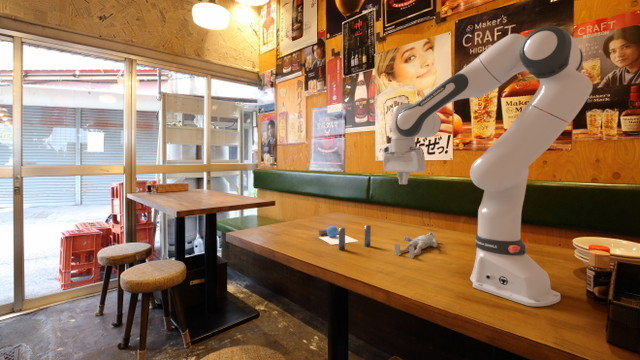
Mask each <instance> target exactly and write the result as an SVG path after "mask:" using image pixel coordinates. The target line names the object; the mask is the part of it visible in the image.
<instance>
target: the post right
mask: <svg viewBox="0 0 640 360" xmlns="http://www.w3.org/2000/svg"><path fill="white" fill-rule="evenodd" d="M371 232H372V227H371V225H370V224H365V225H364V246H363V247H365V248H370V247H371V246H372V244H371V240H372V239H371V237H372V236H371V234H372V233H371Z"/></svg>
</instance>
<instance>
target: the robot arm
mask: <svg viewBox="0 0 640 360" xmlns="http://www.w3.org/2000/svg"><path fill="white" fill-rule="evenodd" d="M583 59H584V58H583V51H582V49H580V47H579V44H578V42H577V40H576V39H575V37H573V36H572V35H571V34H570V33H569V32H568V31H567V30H566V29H565V28H563V27H559V26H556V25H555V26H553V25H547V26H543V27H541V26H540V27H539V28H537V29H535V30H533V31H532V32H529V34H528V35H527V36H524V35H523V34H519V33H510V34H508V35H506V36H505V37H503V38H501V39H500V40H498V41H496V42H495V43H493V44H492V45H491V46H489V47H488V48H486V49H485V50H484V51H483V52H482V53H481V54H479V55H478V56H477V57H476V58H475V59H474V60H472V61H471V62H470V63H468V64H467V65H466V66H465V67H464V68H462V69H461V70H460V71H458V72H457V73H455V74H454V75H452V76H450V77H449V78H447V79H446V80H444V81H443V82H441V84H438V86H436V87H435V88H433V89H431V91H429V92H428V93H427V94H426V95H424V96H423V97H422V98H420V99H419V100H418V101H416V102H415V103H408V102H407V103H400V104H399V105H397V106H395V107H393V109H392V113H391V120H390V121H391V123H390V125H391V126H390V129H391V130H390V131H391V134H392V135H391V138H390V143H388V145H386V146H385V147H383V149H382V153H383V154H384V155H383V158H382V159H383V160H382V166H383V171H384V172H385V173H396V176H397V179H398V184H399V185H407V184H408V180H409V179H410V173H424V172H425V171H426V158H425V154H424V149H423V148H422V147H421V146H416V138H431V137H434V136H435V135H437V134H438V132H439V131H440V129H441V126H442V119H441V117H440V115H439V114H438V113H437V112H439V111H440V110H441V109H443V108H444V107H446V106H447V105H449V104H451V103H453V102H455V101H459V100H465V99H470V98H472V99H473V98H481V97H484V96H486V95H488V94H489V93H492V92H493V91H496V89H498V88H499V87H501V86H502V85H503V84H505V83H506V82H507V81H509V80H510V79H511V78H512V77H514V76H515V75H517V74H518V73H522V72H528V74H530V75H532V76H533V77H534V78H536V79H538V80H539V86H538V88H537V90H536V92H535V93H534V95H533V96H532V97H531V98H530V100H529V101H528V102H527V104H526V105H525V106H524V108H523V109H522V110H521V111H520V113H519V114H518V115H517V117H516V118H515V119H514V121H513V122H512V123H511V124H510V126H509V127H508V128H507V129H506V131H504V132H503V133H502V134H501V135H500V137H498V139H496V140H495V141H494V142H493V143H492V144H491V145H490V146H489V147H488V148H487V150H485V152H484V153H483V154H482V155H480V156H479V157H478V158H477V159H476V160H474V162H472V164H471V167H470V169H469V176H470V180H471V181H472V183H473V185H475V186H476V187H477V188H479V189H481V190H483V194H482V199H481V202H480V205H479V207H478V209H477V211H478V212H477V234H476V235H475V244H474V245H475V249H476V251H475V259H474V264H473V269H472V272H471V275H470V277H469V279H470V281H471V282H472V287H473V288H475V289H476V290H479V291H482V292H486V293H489V294H491V295H495V296H498V297H501V298H503V299H505V300H506V299H507V300H510V301H512V302H515V303H518V304H522V305H525V306H527V307H547V306H552V305H554V304H557V303H559V302H560V301H561V298H562V297H561V293H560V292H558V291H555V290H554V289H552V288H551V287H552V286H551V280H550V276H549V274H548V273H547V271H545V269H543V268H542V267H541V266H540V265H539V264H538V263H537V262H536V261H535V260H534V259H533V258H531V257H530V256H529V255H528V254H527V250H526V249H529V248H530V245H531V244H530V243H526V244H525V243H524V242H523V240H522V238H521V229H522V228H521V227H522V225H521V224H522V213H523V212H522V211H523V205H524V201H525V196H526V189H527V185H528V177H529V174H530V172H529V171H530V170H529V169H530V168H529V167H530V166H531V165H532V164H533V163H534V162H535V161H536V160H537V159H538V158H539V157H540V156H541V155H543V153H545V152H546V151H547V150H548V149H549V148H550V147H551V146H552V145H553V143H554V142H555V141H556V140H557V139H558V138H559V137H560V136H561V134H562V133H563V132H564V131H565V130H566V128H567V127H568V126H569V125H570V123H572V121H573V120H574V119H575V118H576V116H577V115H578V114H579V112H580V111H581V109H582V108H583V106H584V105H585V103H586V101H587V100H588V98H589V97H590V95H591V94H592V91H593V86H594V85H593V83H592V80H591V79H590V78H589V77H588V76H587V75H585V74H584V73H582V72H579V71H580V68H581V67H582V66H583V65H582V64H583Z"/></svg>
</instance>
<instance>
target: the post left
mask: <svg viewBox="0 0 640 360" xmlns="http://www.w3.org/2000/svg"><path fill="white" fill-rule="evenodd" d="M338 235H339V244H338V251H346V243H345V235H346V227H338Z"/></svg>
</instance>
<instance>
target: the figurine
mask: <svg viewBox="0 0 640 360" xmlns="http://www.w3.org/2000/svg"><path fill="white" fill-rule="evenodd" d="M403 240H404V241H405V242H409V243H408V244H407V246H404V248H403V249H401V245H400V244H399V243H395V244H394V250H395V256H399V255H400V256H401V255H402V254H404V252H406V253H408V252H409V256H408V258H409V259H414V258H415V256H419V255H420V254H421V252H422V250H423V249H426V248H428V247H433V248H437V247H438V240H437V239H436V237H435V233H434V232H432V231H430V232H428V233H425V234H423V235H419V236H417V237H414V238H410V237H409V236H404V237H403ZM415 248H416V249H415Z"/></svg>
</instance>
